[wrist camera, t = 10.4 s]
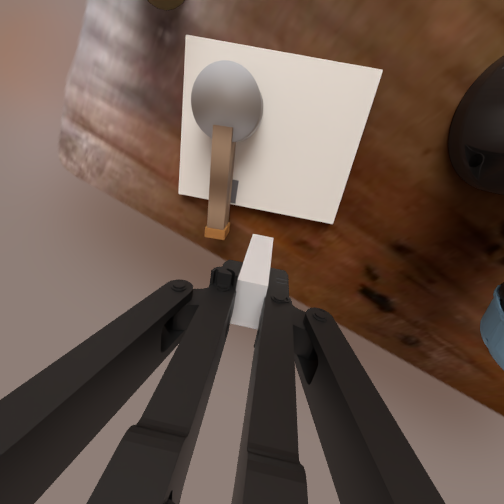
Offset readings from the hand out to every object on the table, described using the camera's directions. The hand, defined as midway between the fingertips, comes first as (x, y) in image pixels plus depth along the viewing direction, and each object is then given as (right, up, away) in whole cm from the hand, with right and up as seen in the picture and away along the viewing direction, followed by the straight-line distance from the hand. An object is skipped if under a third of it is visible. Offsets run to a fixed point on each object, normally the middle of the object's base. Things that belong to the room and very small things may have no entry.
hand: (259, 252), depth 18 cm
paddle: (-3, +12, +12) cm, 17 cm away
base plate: (+1, +14, +13) cm, 19 cm away
